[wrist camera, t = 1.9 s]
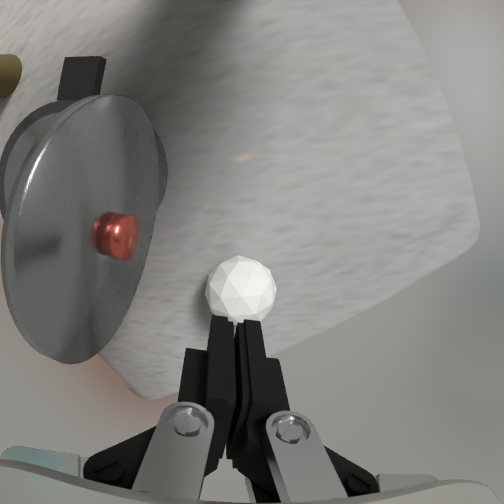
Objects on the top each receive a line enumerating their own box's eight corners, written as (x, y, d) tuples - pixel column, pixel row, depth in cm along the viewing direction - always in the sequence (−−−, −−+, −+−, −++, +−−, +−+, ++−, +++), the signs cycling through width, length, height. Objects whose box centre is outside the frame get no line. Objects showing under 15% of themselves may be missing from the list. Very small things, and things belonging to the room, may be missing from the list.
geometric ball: (247, 253, 41) (288, 252, 35) (251, 316, 42) (292, 325, 35) (191, 258, 37) (226, 257, 31) (197, 326, 37) (232, 340, 31)
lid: (3, 83, 8) (51, 78, 8) (159, 105, 23) (190, 108, 23) (36, 410, 13) (74, 429, 13) (139, 288, 28) (165, 296, 28)
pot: (57, 71, 28) (10, 61, 19) (184, 76, 30) (168, 57, 21) (45, 258, 37) (6, 293, 28) (156, 279, 39) (137, 324, 30)
